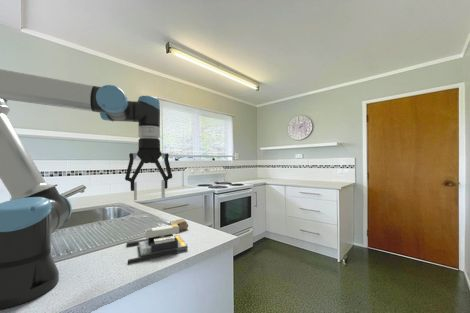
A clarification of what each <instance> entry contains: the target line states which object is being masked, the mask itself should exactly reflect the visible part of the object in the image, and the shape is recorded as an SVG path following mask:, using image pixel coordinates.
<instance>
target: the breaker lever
mask: <svg viewBox="0 0 470 313" xmlns="http://www.w3.org/2000/svg"><path fill="white" fill-rule="evenodd" d="M170 234H173V235H175V234H180V231H179V226H178V225H177V224H173V225H170V226H169V225H164V226H157V227H148V228H145V229H144V237H145V239H147V238H152V237H158V236H164V235H170Z"/></svg>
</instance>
